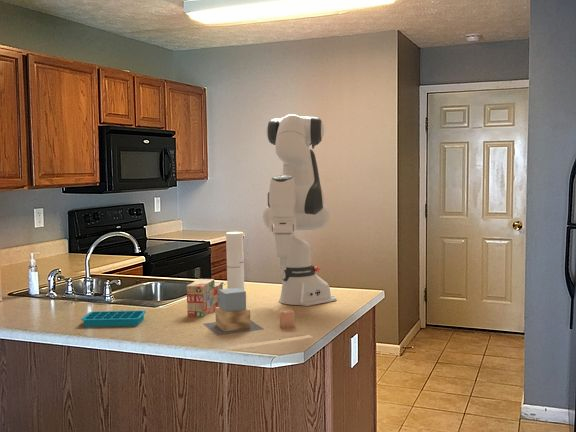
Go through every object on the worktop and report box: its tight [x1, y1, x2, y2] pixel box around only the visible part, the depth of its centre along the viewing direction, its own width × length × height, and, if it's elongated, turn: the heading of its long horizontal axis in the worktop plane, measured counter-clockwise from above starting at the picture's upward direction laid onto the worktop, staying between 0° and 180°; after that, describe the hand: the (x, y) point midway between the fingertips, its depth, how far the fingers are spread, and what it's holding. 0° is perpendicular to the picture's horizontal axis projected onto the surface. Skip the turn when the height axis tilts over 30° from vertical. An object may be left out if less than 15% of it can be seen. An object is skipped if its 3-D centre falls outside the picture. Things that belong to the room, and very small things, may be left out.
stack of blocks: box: [186, 278, 224, 318], centre depth 234 cm, size 21×6×12 cm, turn 167°
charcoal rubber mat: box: [203, 319, 265, 337], centre depth 210 cm, size 16×16×1 cm
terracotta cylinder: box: [278, 308, 296, 329], centre depth 209 cm, size 5×5×6 cm
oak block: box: [214, 307, 251, 331], centre depth 210 cm, size 9×9×6 cm
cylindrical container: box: [225, 231, 245, 291], centre depth 270 cm, size 7×7×25 cm
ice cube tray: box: [80, 310, 147, 328], centre depth 222 cm, size 12×20×3 cm, turn 90°
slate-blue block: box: [219, 288, 247, 312], centre depth 210 cm, size 7×7×6 cm
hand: (283, 267), depth 208 cm, fingers open, 8 cm apart
